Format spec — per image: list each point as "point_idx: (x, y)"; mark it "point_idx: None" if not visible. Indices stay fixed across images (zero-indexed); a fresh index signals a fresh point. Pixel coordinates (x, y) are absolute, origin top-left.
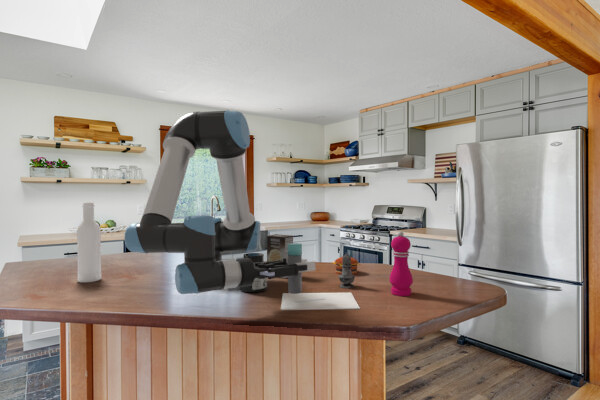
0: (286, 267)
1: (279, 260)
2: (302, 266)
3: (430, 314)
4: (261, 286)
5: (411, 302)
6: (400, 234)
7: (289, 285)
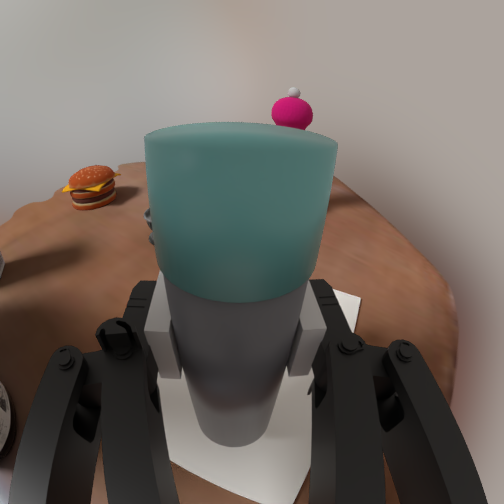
0: (463, 439)
1: (67, 363)
2: (339, 312)
3: (399, 240)
4: (4, 419)
5: (336, 225)
6: (299, 93)
7: (242, 435)
